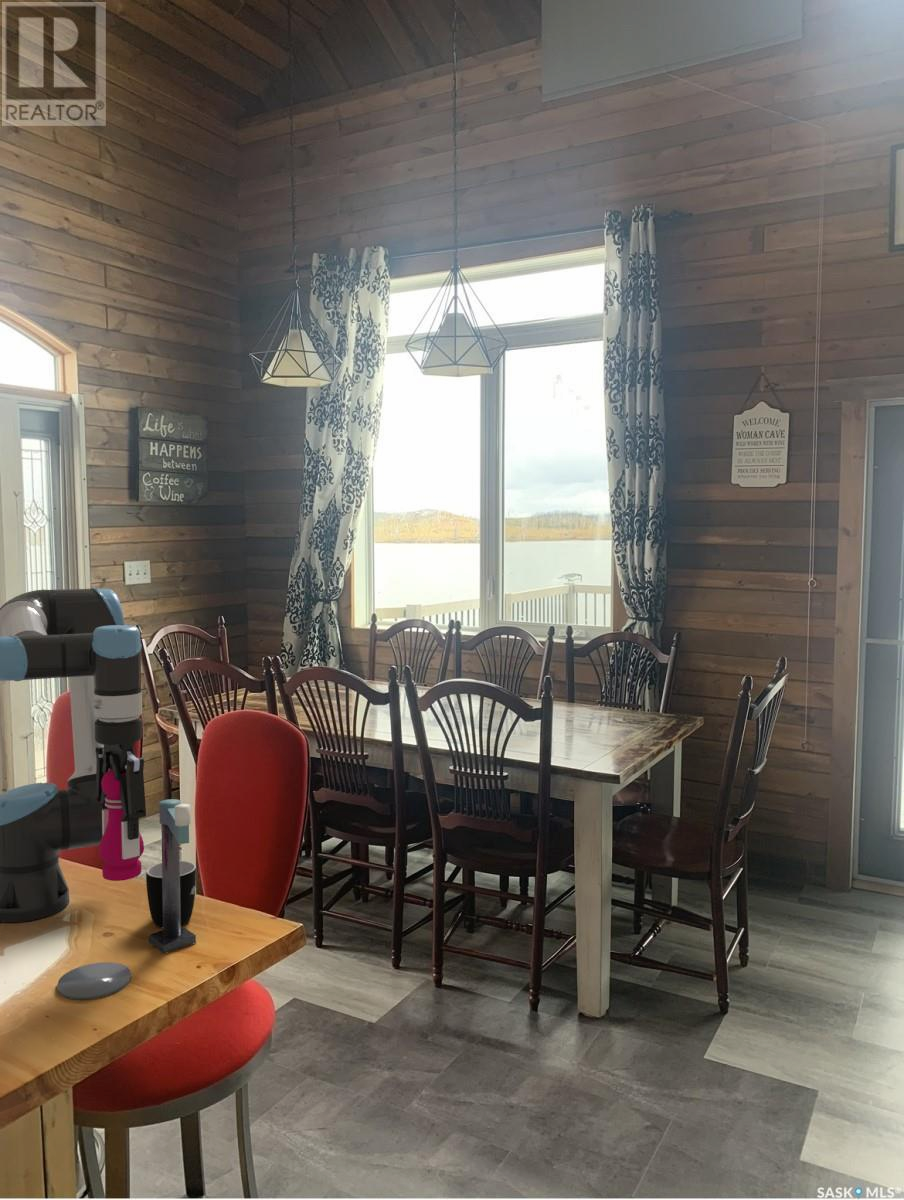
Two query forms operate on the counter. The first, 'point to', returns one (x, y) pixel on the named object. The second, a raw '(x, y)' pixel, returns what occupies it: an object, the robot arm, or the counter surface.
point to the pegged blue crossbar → (176, 818)
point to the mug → (157, 895)
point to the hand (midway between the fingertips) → (120, 851)
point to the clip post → (171, 899)
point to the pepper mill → (116, 836)
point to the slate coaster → (94, 980)
